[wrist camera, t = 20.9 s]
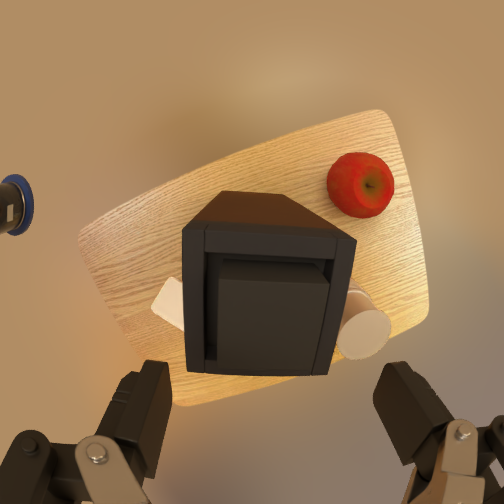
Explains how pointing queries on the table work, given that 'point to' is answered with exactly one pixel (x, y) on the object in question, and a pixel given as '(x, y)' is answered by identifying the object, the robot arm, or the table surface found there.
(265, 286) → the dark brown square block
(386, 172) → the apple
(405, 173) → the table surface
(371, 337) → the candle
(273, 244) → the brown square canister
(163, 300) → the smartphone
